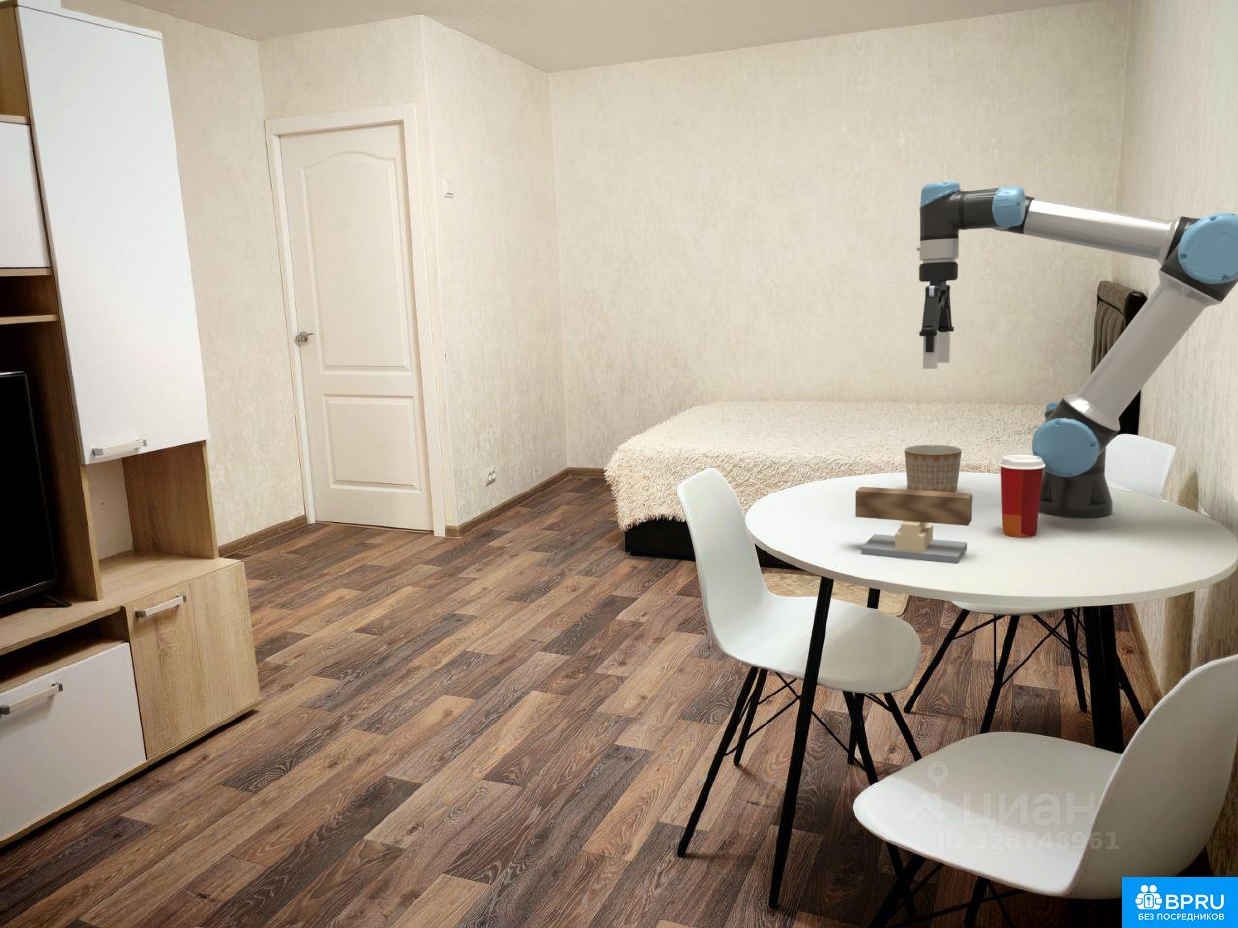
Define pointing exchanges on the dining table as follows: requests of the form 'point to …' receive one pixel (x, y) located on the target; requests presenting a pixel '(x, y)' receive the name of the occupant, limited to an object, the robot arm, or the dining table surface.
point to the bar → (914, 505)
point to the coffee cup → (1020, 494)
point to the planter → (932, 467)
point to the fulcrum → (915, 544)
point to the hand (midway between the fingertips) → (936, 365)
